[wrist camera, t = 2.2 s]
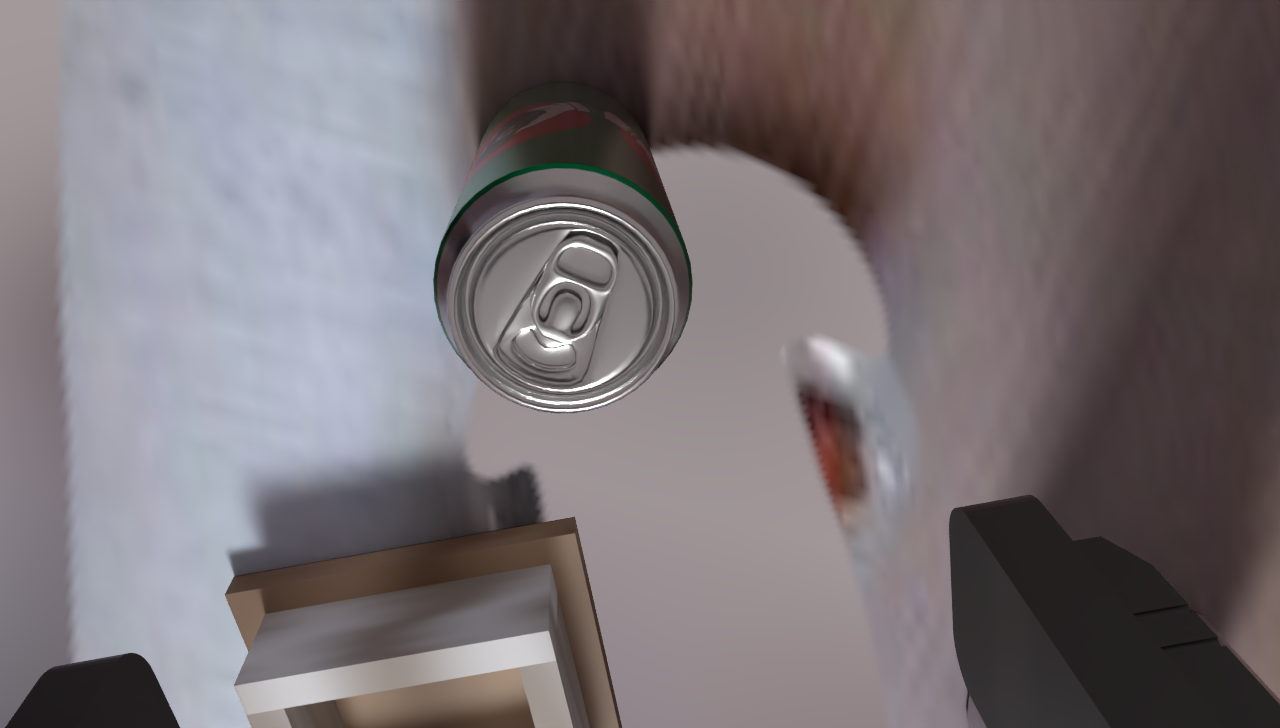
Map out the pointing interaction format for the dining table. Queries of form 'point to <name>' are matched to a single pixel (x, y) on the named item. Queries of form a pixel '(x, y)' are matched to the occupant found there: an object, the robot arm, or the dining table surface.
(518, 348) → the soda can
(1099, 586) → the robot arm
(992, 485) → the dining table surface
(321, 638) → the box
